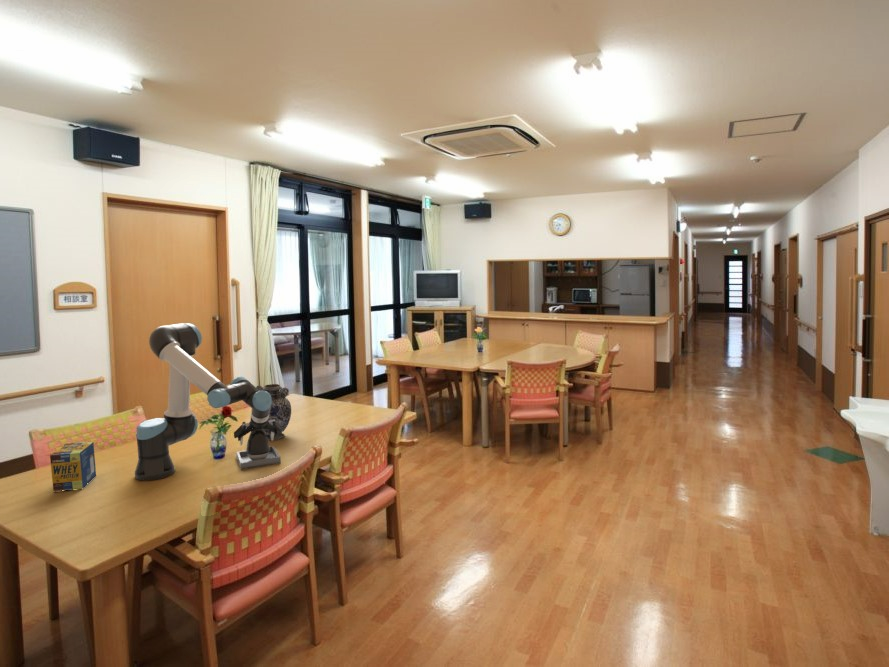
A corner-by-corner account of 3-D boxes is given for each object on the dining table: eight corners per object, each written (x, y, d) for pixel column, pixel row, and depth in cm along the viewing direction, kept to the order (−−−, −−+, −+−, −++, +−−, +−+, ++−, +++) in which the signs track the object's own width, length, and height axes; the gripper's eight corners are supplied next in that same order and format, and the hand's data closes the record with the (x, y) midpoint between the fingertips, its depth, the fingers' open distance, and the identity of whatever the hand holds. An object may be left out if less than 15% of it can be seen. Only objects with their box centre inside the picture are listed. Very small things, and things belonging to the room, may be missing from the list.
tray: (280, 463, 239) (280, 456, 239) (241, 469, 232) (240, 463, 231) (274, 452, 254) (273, 446, 254) (236, 458, 247) (236, 451, 246)
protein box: (52, 493, 209) (49, 455, 207) (69, 478, 223) (65, 443, 222) (83, 490, 211) (79, 452, 210) (97, 475, 226) (94, 441, 224)
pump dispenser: (274, 457, 245) (274, 425, 244) (258, 464, 236) (257, 431, 234) (258, 453, 250) (257, 422, 248) (241, 460, 240) (240, 428, 238)
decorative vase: (245, 440, 273) (243, 387, 270) (269, 430, 290) (268, 380, 287) (278, 444, 265) (276, 390, 262) (301, 434, 282) (300, 383, 279)
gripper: (230, 428, 221) (228, 451, 236) (290, 420, 233) (285, 443, 248) (228, 412, 225) (226, 437, 240) (287, 405, 237) (282, 429, 252)
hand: (256, 440), depth 244 cm, fingers open, 13 cm apart
